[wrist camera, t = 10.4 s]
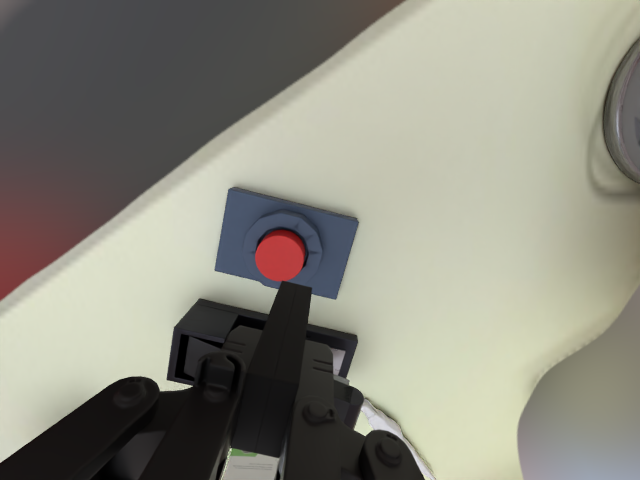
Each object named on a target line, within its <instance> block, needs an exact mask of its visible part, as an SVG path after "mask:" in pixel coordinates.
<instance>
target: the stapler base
mask: <svg viewBox="0 0 640 480" xmlns="http://www.w3.org/2000/svg"><path fill="white" fill-rule="evenodd" d="M268 316H269V315H267V314H263V313H258V312H254V311H250V310H245V309H241V308H237V307H233V306H228V305H224V304H220V303H216V302H211V301H207V300H203V299H199V300H198V301H197V302H196V303H195V304H194V305H193V306H192V308H191V309H190V310H189V311H188V312H187V313H186V314H185V316H184V317H183V318H182V319H181V320H180V321H179V322H178V323H177V325H176V326H175V327H174V331H173V338H172V345H171V352H170V359H169V366H168V373H167V380H169V381H174V382H178V383H183V384H187V385H192V386H193V385H194V379H195V378H194V377H192V376H190V375H188V374H185V373H183V372H184V365H185V359H186V353H187V346H188V340H189V336H193V337H197V338H202V339H206V340H211V341H215V342H219V343H224V342H225V341H226V339H227V337H228V335H229V333H230V332H231V331H232V330H234V329H235V328H237V327H238V326H240V325H241V326H245V327H249V328H254V329H258V330H262V331H263V329H264V326H265V323H266V321H267V318H268ZM305 340H309V341H313V342H317V343H322V344H326V345H328V346H329V348H330V349H331V351H332V353H333V374H335V375H338V376H340V377H343V378H345V379H346V377H347V374H348V371H349V368H350V365H351V362H352V359H353V355H354V352H355V349H356V346H357V343H358V340H357V336H356V335H352V334H348V333H344V332H339V331H335V330H331V329H326V328H322V327H318V326H314V325H309V324H307V330H306V338H305Z"/></svg>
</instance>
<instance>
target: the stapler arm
mask: <svg viewBox="0 0 640 480" xmlns="http://www.w3.org/2000/svg"><path fill="white" fill-rule="evenodd" d="M229 334H230V333H229ZM223 344H224V343H219V342H215V341H211V340H206V339H202V338H197V337H193V336H189V340H188V346H187V353H186V359H185V365H184V372H183V373H185V374H188V375H190V376H192V377H194V378H195V373H196V367H197V361H198V360H199V359H200V358H201V357H202V356H203V355H206V354H208V353H210V352H215V351H220V350H221V349H222V346H223ZM363 402H364V396H363V394H362V393H361V392H360V391H359V390H358V389H356V388H354V387H352V386H349V380H348V379H345V378H343V377H340V376H338V375H335V374H334V407H335V408H336V410H337V412H338V416H339V418H340V419H341V421H342V422H343V423H345V424H346V425H347V426H348V427H350V428H351V429H353V430H354V428H355V425H356V422H357V419H358V417H359V414H360V411H361V408H362V405H363Z"/></svg>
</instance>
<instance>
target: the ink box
mask: <svg viewBox="0 0 640 480" xmlns="http://www.w3.org/2000/svg"><path fill="white" fill-rule="evenodd" d="M279 458H280V457H279ZM279 458H275V457H270V456H266V455H261V454H257V453H252V452H248V451H243V450H239V449H234V448H232V451H231V455H230V458H229V461H228V464H227V468H226V471H225V474H224V477H223V480H274V478H275V474H276V471H277V467H278V463H279Z"/></svg>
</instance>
